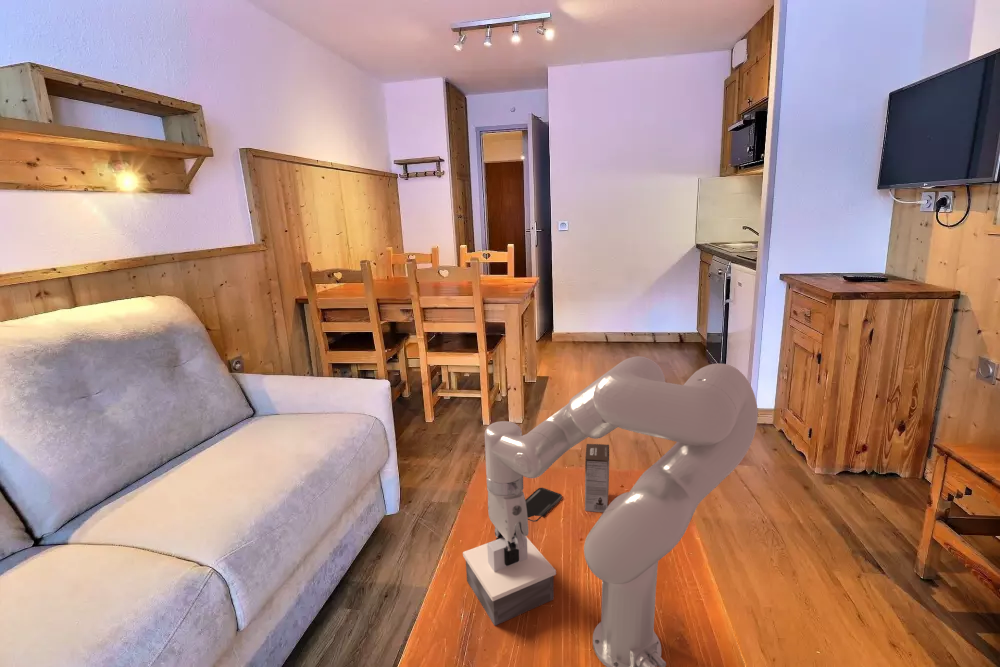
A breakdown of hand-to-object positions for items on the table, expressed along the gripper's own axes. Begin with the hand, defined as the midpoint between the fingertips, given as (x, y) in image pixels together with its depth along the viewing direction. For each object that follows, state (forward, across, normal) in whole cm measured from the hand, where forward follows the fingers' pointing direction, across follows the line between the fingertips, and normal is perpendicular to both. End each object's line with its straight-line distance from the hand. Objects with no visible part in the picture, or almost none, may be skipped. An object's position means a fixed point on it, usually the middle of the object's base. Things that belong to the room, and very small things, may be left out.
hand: (507, 557), depth 106 cm
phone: (+10, +24, -22) cm, 34 cm away
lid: (+2, 0, 0) cm, 2 cm away
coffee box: (+9, +17, -37) cm, 42 cm away
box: (+9, 0, 0) cm, 9 cm away
